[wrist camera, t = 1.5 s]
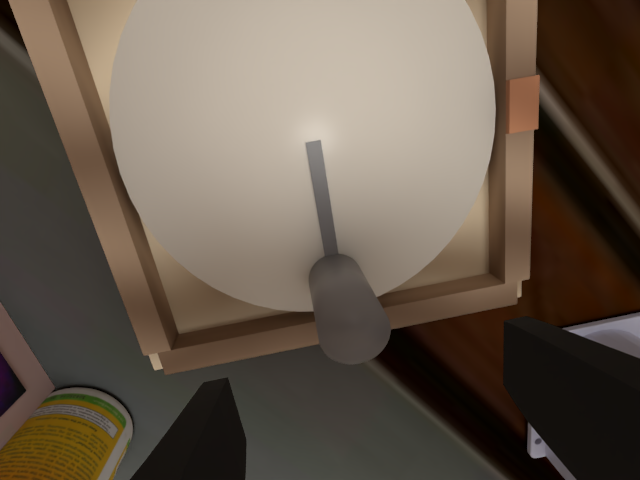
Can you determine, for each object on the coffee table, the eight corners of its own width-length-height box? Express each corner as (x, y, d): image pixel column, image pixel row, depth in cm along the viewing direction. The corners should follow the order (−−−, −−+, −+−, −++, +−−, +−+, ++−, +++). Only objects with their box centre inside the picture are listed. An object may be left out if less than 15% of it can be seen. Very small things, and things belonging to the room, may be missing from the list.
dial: (59, -47, 12) (-108, -179, 7) (478, -107, 13) (612, -267, 8) (182, 328, 17) (138, 416, 12) (484, 269, 17) (569, 327, 12)
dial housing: (503, 284, 20) (542, 311, 17) (164, 352, 19) (142, 392, 16) (505, -151, 14) (564, -226, 11) (9, -83, 13) (-71, -145, 10)
